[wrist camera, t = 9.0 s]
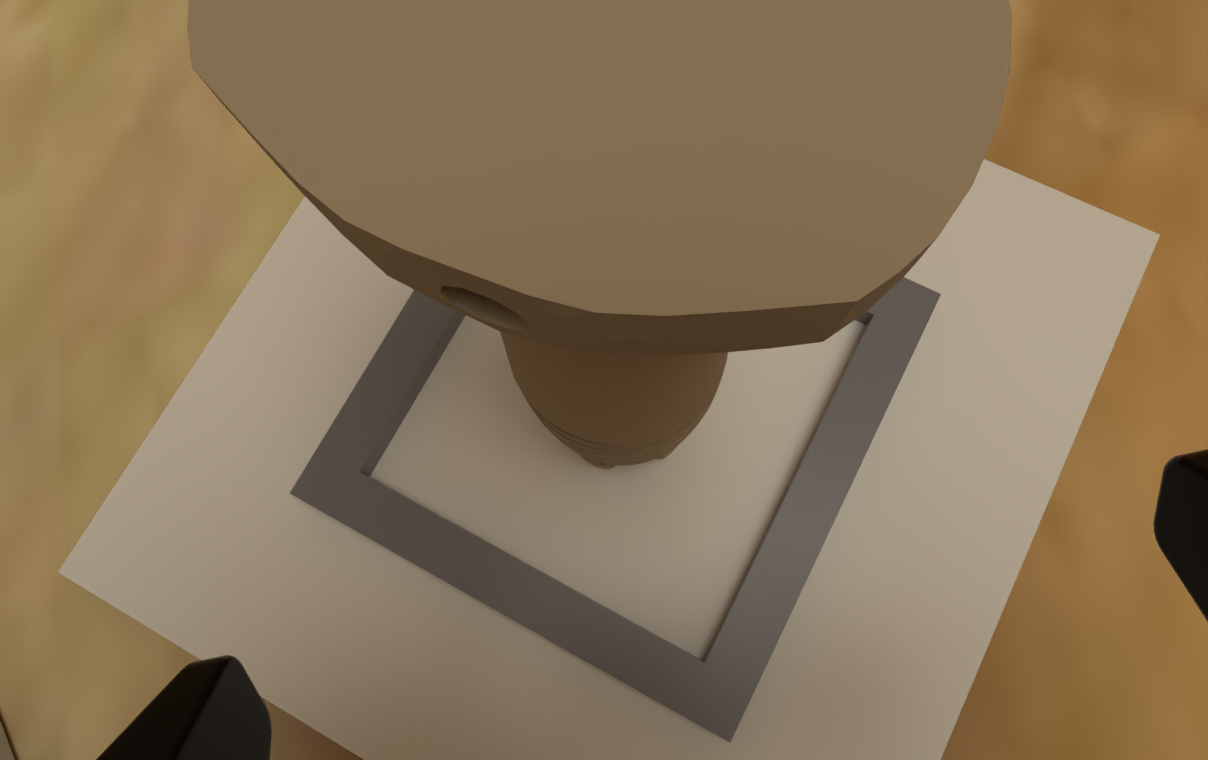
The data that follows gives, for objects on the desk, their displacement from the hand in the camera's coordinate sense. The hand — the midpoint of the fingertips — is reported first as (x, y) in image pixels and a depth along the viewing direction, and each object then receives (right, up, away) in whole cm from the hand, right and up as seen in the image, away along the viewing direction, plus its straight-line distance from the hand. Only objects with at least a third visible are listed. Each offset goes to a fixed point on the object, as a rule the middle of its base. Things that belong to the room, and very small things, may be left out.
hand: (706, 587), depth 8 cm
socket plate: (-1, +1, +13) cm, 14 cm away
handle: (0, +1, +13) cm, 13 cm away
